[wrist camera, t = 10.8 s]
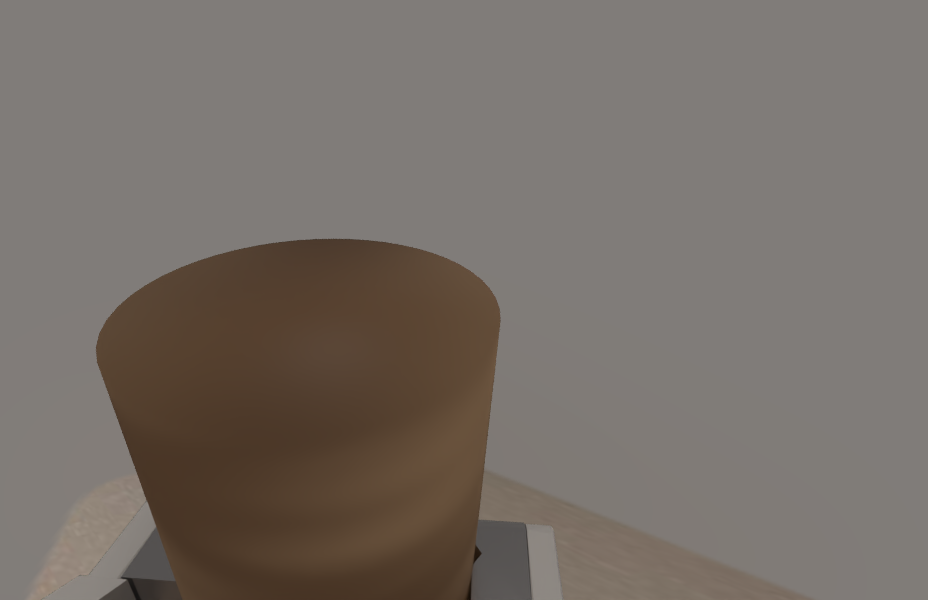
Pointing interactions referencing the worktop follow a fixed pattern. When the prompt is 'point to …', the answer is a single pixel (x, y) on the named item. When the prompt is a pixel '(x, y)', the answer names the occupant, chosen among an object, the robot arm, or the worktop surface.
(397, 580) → the peg
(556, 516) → the worktop surface
